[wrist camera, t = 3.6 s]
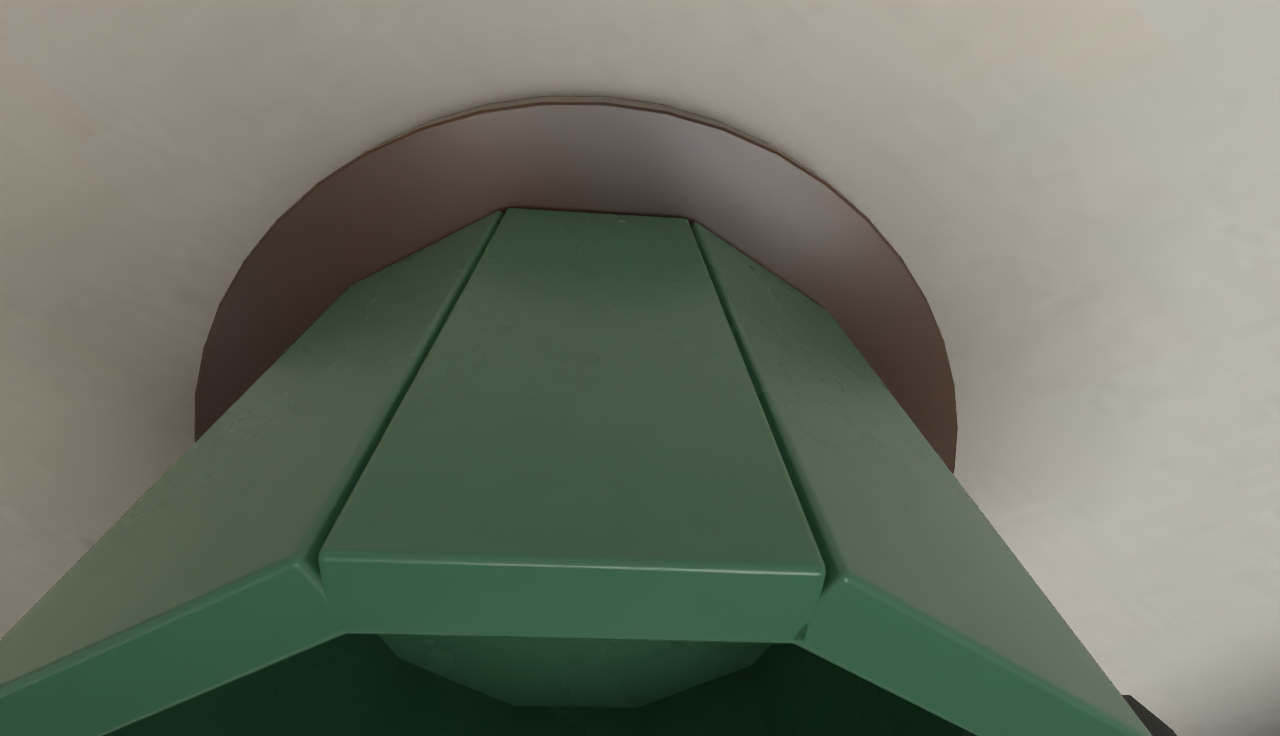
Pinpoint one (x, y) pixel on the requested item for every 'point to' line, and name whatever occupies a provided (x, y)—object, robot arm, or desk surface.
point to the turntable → (592, 183)
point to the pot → (558, 527)
